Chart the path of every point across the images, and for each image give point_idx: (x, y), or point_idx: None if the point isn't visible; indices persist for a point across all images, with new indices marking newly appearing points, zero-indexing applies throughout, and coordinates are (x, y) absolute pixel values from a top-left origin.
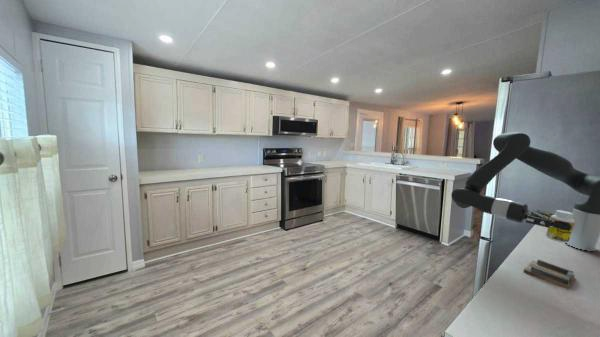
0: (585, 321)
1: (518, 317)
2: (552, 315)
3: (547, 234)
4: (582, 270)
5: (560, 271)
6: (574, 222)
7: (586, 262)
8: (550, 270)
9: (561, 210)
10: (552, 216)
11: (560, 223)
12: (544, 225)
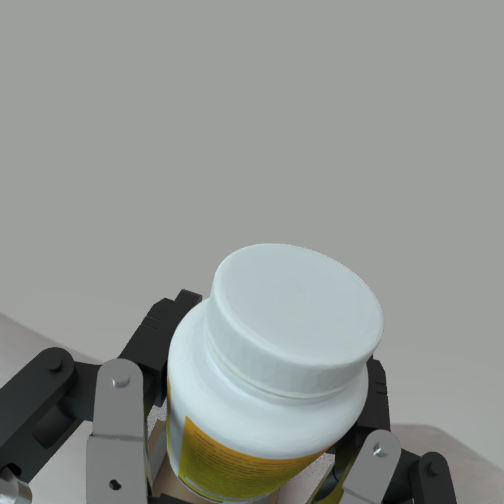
0: (416, 434)
1: (500, 497)
2: (451, 472)
3: (257, 499)
4: None
5: (165, 456)
6: (200, 296)
7: (5, 331)
8: (178, 485)
9: (238, 299)
10: (323, 442)
11: (372, 399)
12: (412, 502)
